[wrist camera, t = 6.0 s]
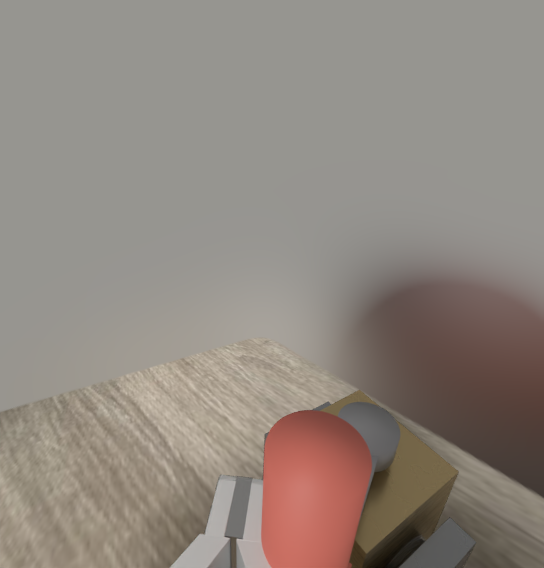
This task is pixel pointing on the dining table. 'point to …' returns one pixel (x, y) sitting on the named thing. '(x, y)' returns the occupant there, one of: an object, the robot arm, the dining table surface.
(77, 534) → the dining table surface
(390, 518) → the lever valve base
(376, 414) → the lever
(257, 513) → the robot arm
